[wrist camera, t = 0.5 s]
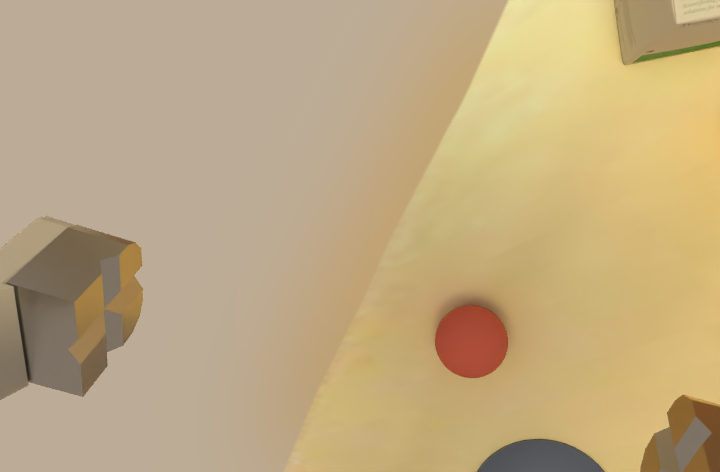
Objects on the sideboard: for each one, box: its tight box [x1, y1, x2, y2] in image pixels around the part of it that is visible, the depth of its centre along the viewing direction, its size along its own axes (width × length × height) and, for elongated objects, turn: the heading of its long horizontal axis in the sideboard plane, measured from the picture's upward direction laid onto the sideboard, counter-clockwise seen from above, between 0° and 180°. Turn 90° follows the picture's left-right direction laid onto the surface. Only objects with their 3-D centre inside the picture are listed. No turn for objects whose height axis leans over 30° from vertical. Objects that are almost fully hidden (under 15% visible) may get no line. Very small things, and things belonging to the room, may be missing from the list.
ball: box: [435, 306, 508, 378], centre depth 57 cm, size 6×6×6 cm
